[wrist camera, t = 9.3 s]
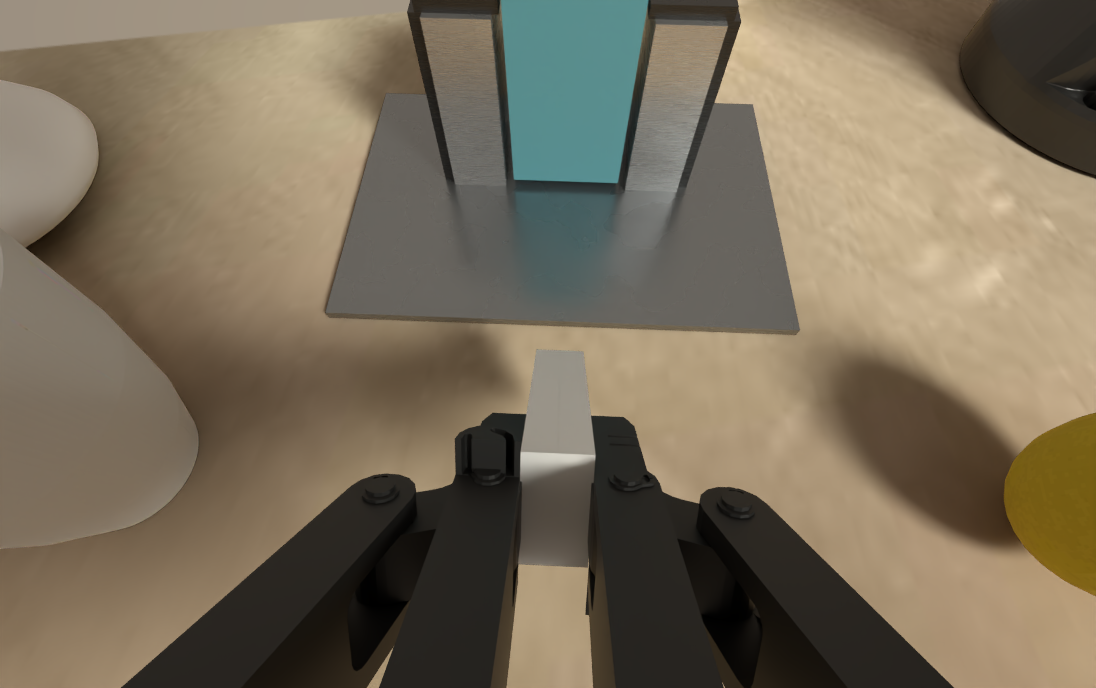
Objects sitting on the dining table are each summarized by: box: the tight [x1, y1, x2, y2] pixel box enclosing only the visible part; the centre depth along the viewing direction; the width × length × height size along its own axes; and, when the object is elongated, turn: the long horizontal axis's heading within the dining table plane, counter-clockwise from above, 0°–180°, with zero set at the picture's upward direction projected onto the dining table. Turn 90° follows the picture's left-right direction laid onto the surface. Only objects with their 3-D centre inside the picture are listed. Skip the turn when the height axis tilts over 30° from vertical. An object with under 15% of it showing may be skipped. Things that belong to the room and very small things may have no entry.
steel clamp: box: [325, 0, 800, 335], centre depth 21 cm, size 20×14×9 cm
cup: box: [0, 228, 199, 549], centre depth 15 cm, size 8×8×10 cm
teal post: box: [501, 0, 648, 183], centre depth 21 cm, size 5×5×12 cm
